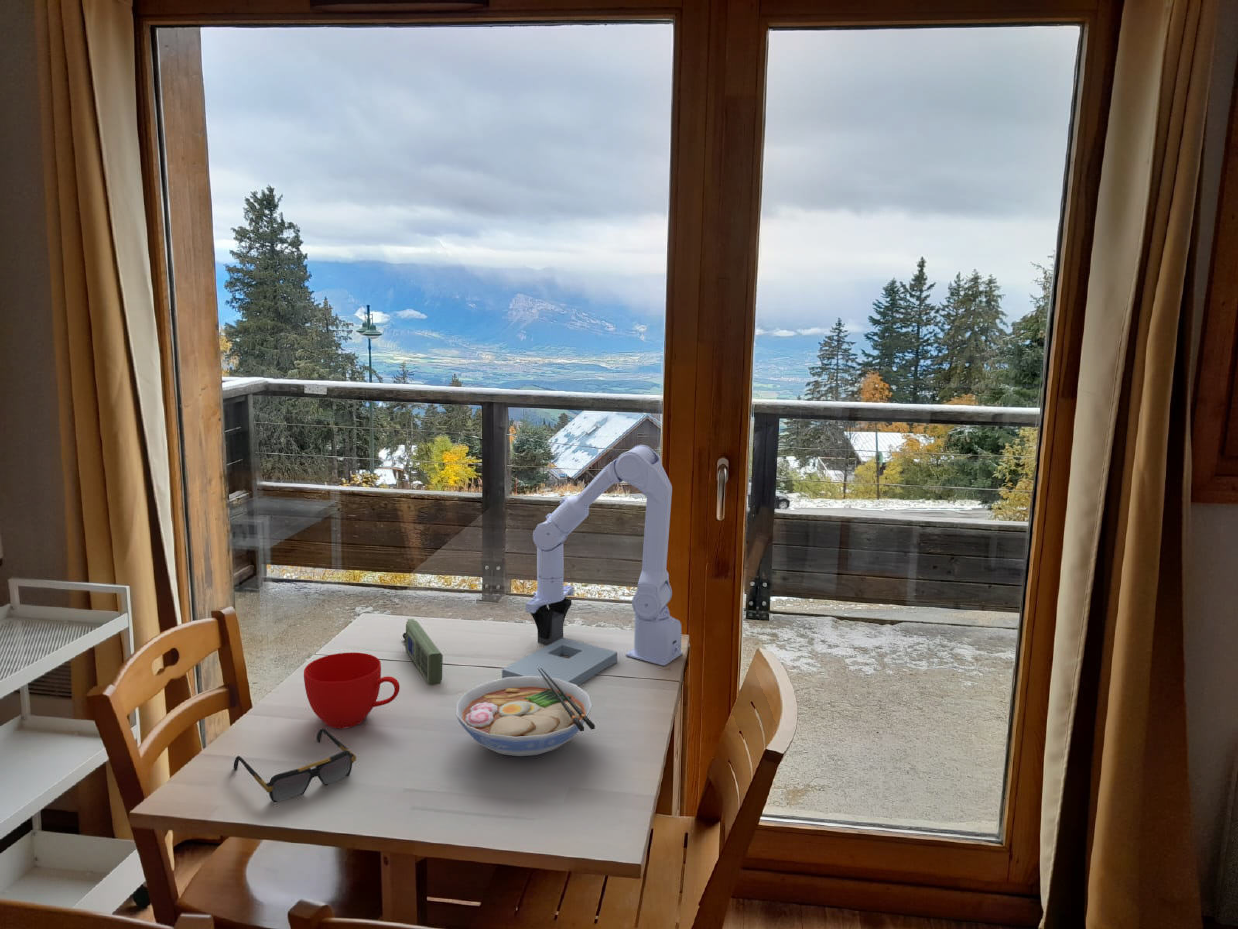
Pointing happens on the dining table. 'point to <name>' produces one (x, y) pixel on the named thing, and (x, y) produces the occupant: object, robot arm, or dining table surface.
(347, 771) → the sunglasses
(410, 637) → the handheld radio
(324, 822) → the dining table surface
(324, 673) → the ceramic cup
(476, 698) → the ramen bowl
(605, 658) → the socket plate
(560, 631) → the block
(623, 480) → the robot arm
